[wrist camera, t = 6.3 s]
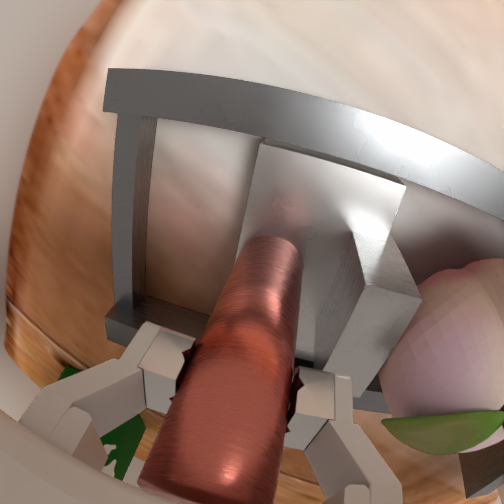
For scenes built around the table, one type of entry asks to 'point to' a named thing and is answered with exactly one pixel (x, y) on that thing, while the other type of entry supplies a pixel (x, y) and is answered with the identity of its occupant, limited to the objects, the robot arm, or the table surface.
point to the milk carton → (117, 440)
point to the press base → (286, 130)
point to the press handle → (285, 322)
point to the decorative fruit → (450, 364)
